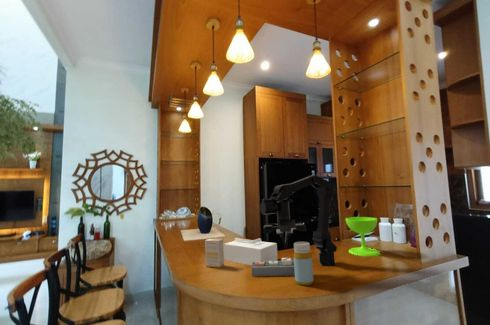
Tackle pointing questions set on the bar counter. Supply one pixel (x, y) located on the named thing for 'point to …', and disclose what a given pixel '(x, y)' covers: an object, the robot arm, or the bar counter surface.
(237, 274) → the bar counter surface
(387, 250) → the bar counter surface
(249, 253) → the tissue box
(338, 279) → the bar counter surface
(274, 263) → the key sage
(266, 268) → the keypad
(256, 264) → the key terracotta
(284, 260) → the key cream
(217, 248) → the supplement box
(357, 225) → the wineglass
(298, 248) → the bottle
